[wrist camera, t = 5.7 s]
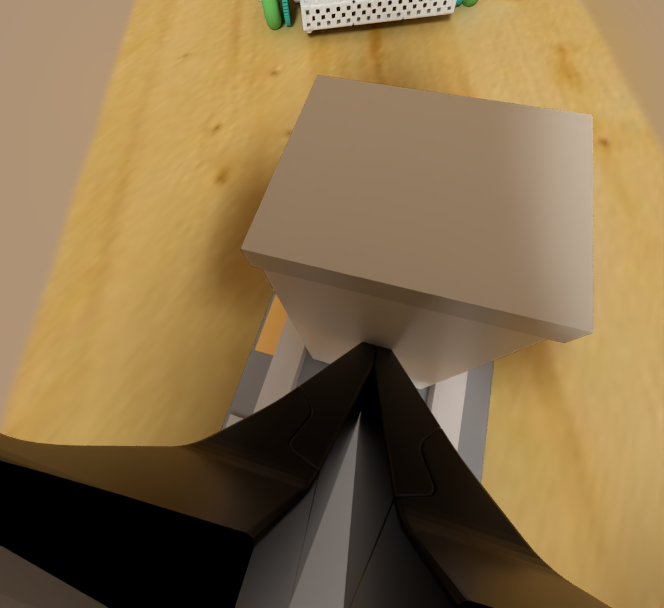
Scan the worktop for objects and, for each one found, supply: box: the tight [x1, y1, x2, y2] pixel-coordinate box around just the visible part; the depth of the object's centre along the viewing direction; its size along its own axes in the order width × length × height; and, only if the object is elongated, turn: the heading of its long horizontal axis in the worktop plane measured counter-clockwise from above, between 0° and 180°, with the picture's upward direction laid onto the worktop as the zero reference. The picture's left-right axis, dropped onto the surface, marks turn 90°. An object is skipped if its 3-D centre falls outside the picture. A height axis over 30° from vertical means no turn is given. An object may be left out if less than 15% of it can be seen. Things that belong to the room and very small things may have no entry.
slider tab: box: [241, 75, 594, 389], centre depth 10 cm, size 4×5×10 cm
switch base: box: [221, 291, 494, 608], centre depth 13 cm, size 16×11×3 cm
